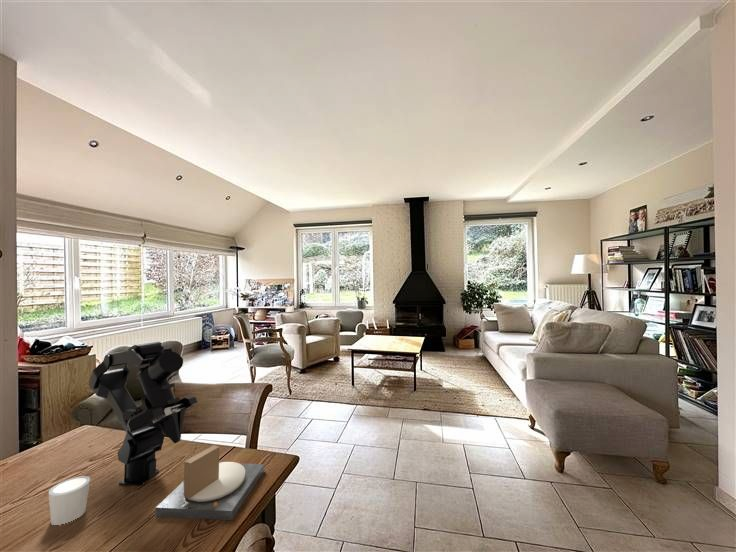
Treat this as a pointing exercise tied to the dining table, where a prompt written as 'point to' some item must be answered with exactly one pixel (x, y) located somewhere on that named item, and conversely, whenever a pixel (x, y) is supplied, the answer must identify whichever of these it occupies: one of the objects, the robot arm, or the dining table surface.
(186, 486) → the dial
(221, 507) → the dial plate
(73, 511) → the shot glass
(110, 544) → the dining table surface
